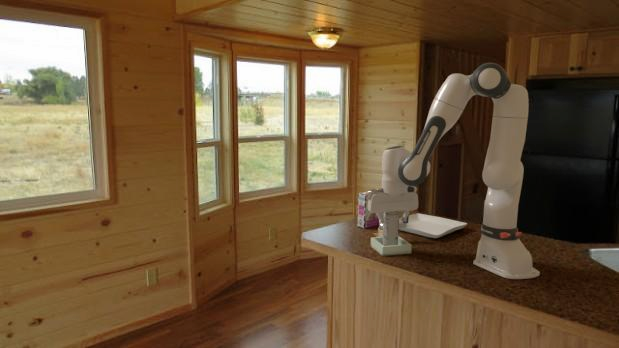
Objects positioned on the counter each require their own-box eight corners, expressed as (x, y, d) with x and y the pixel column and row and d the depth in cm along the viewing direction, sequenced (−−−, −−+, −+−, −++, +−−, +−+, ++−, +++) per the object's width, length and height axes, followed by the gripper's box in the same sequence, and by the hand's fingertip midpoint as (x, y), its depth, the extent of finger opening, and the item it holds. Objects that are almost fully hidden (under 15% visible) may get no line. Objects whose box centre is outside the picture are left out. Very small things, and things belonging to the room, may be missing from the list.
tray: (411, 253, 165) (411, 244, 165) (382, 255, 162) (382, 247, 162) (397, 243, 177) (398, 235, 176) (370, 245, 174) (370, 237, 173)
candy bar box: (364, 229, 197) (365, 194, 194) (356, 227, 200) (357, 192, 198) (380, 225, 204) (381, 191, 201) (372, 222, 207) (373, 189, 205)
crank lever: (381, 230, 176) (382, 216, 175) (377, 226, 180) (377, 213, 180) (411, 228, 178) (411, 214, 177) (406, 225, 183) (406, 211, 182)
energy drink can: (398, 249, 167) (400, 212, 165) (383, 249, 167) (384, 212, 165) (396, 244, 173) (398, 208, 170) (381, 244, 173) (382, 208, 171)
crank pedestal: (394, 243, 177) (394, 230, 176) (381, 244, 176) (381, 231, 175) (381, 233, 191) (381, 221, 190) (368, 234, 189) (368, 222, 188)
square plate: (468, 230, 197) (468, 222, 196) (437, 243, 178) (437, 234, 178) (417, 219, 216) (417, 211, 216) (384, 229, 198) (384, 221, 197)
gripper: (371, 190, 160) (371, 226, 162) (420, 187, 165) (419, 222, 167) (365, 187, 166) (365, 222, 168) (412, 184, 171) (412, 218, 173)
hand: (392, 222), depth 167 cm, fingers open, 8 cm apart
